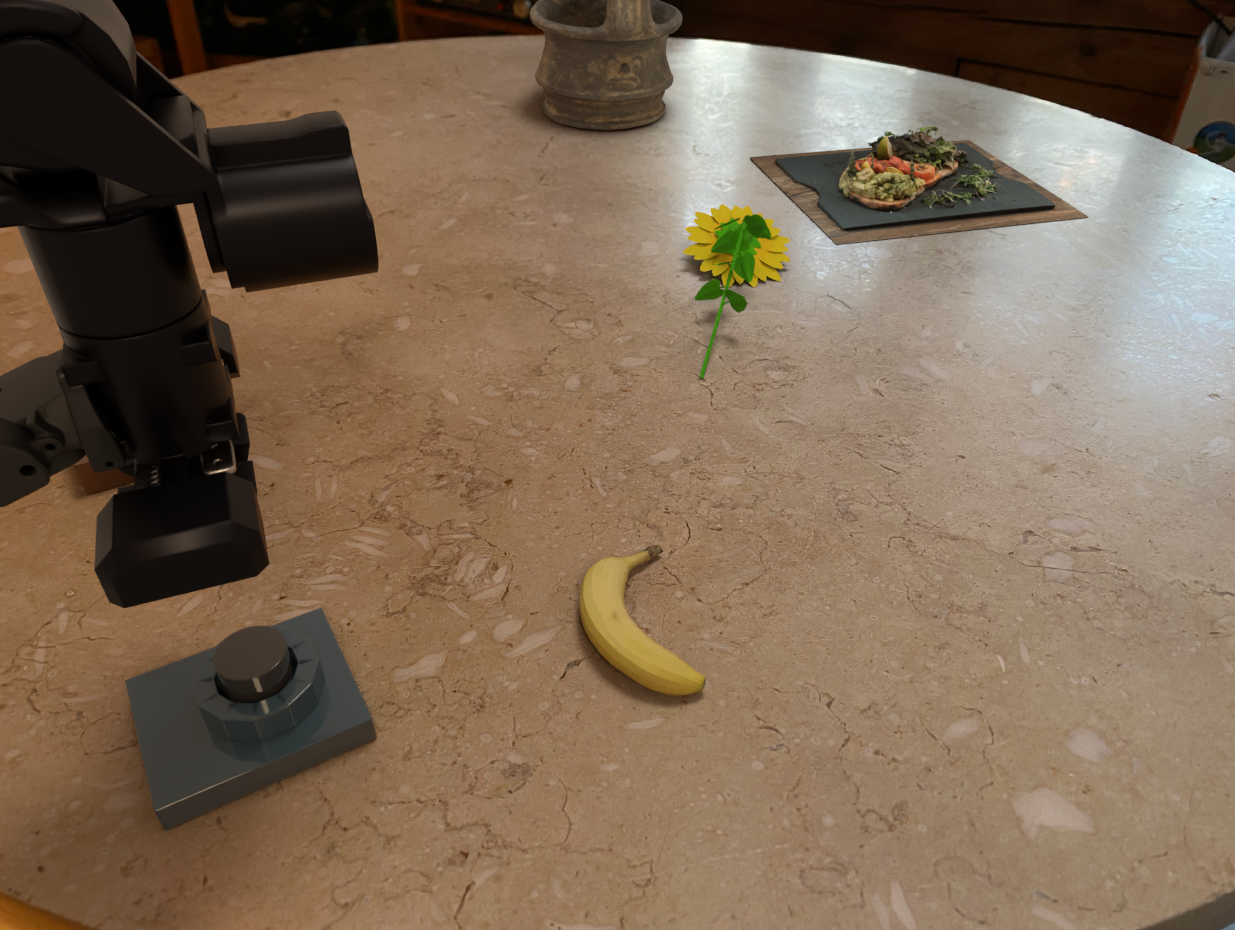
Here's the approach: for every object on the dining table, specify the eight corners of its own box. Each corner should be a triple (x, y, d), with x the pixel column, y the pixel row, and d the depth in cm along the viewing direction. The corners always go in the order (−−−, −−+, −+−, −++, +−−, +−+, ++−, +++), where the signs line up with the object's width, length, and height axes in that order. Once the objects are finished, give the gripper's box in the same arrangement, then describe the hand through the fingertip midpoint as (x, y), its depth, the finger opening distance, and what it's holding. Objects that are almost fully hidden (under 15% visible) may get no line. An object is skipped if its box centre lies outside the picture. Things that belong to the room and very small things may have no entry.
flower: (749, 431, 91) (798, 224, 107) (775, 379, 84) (823, 165, 100) (630, 394, 91) (697, 193, 107) (646, 338, 84) (714, 132, 100)
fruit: (660, 550, 69) (662, 519, 67) (718, 695, 59) (722, 664, 57) (562, 565, 68) (562, 534, 66) (604, 716, 57) (605, 685, 56)
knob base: (164, 831, 51) (142, 790, 48) (134, 700, 58) (113, 658, 55) (377, 738, 56) (367, 696, 53) (326, 627, 63) (316, 585, 60)
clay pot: (528, 136, 135) (519, -107, 116) (537, 85, 153) (530, -132, 134) (681, 138, 135) (697, -103, 116) (672, 87, 153) (684, -128, 134)
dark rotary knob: (230, 713, 53) (221, 690, 51) (214, 664, 55) (205, 641, 54) (301, 685, 54) (294, 662, 53) (282, 638, 57) (275, 616, 56)
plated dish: (839, 246, 109) (850, 185, 104) (745, 161, 130) (751, 107, 125) (1091, 219, 117) (1112, 162, 113) (964, 143, 138) (977, 92, 134)
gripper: (-57, 239, 44) (61, 493, 54) (-140, 480, 30) (37, 759, 40) (197, 207, 47) (264, 451, 57) (222, 411, 34) (304, 684, 44)
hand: (221, 566), depth 49 cm, fingers closed
